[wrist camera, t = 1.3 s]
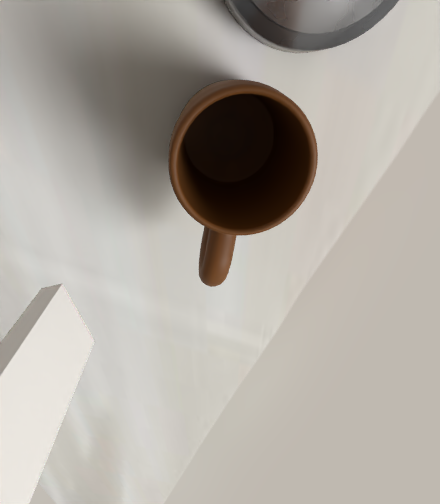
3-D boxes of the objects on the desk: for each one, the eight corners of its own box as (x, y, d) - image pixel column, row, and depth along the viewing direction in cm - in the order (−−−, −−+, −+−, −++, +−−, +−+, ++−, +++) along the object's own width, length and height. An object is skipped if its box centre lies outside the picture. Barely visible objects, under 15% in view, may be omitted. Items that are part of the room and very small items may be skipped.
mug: (249, 243, 28) (270, 311, 20) (162, 227, 27) (145, 293, 19) (293, 93, 23) (346, 103, 15) (186, 66, 22) (178, 60, 13)
